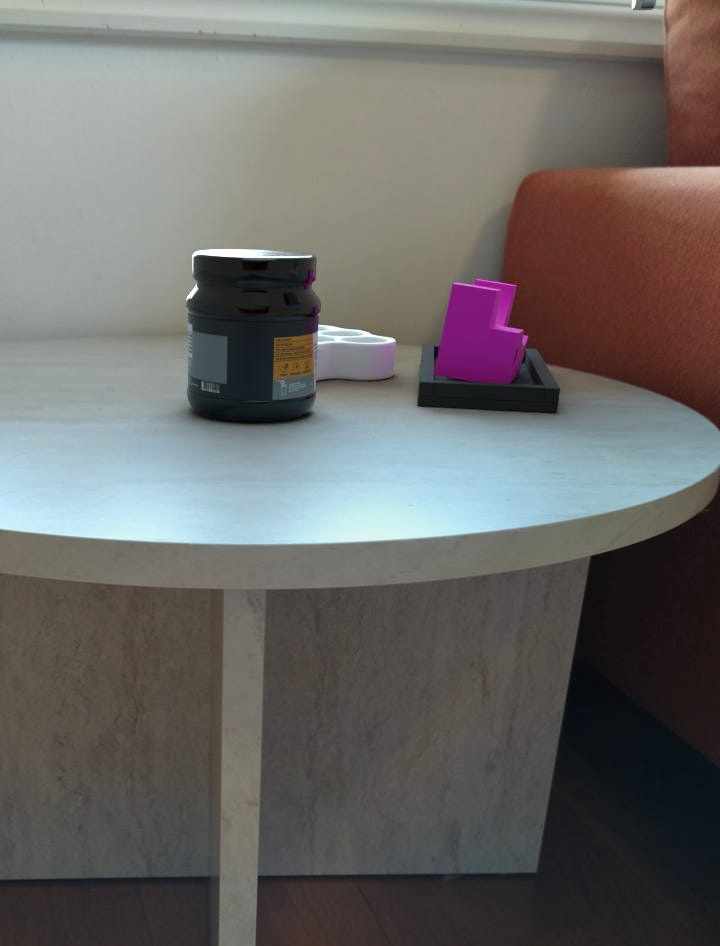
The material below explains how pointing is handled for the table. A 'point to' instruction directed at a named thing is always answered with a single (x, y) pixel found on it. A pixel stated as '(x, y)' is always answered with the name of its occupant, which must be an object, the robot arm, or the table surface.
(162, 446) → the table surface
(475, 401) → the socket pad
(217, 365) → the supplement container
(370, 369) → the white well tray
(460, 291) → the toy block
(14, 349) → the table surface
